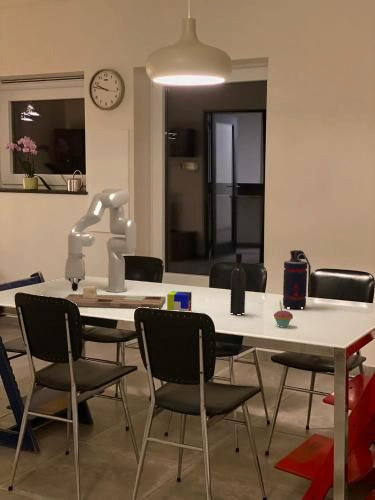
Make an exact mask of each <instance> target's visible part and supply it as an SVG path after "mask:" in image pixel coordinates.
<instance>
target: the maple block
mask: <svg viewBox="0 0 375 500" xmlns="http://www.w3.org/2000/svg"><path fill="white" fill-rule="evenodd" d="M97 289H98V286H95V285H94V286H93V285H91V286H90V285H89V286H88V285H87V286H84V287H83V288H82V293H83V297H93V298H94V297H96V296H97V295H98V290H97Z"/></svg>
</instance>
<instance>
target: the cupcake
mask: <svg viewBox="0 0 375 500" xmlns="http://www.w3.org/2000/svg"><path fill="white" fill-rule="evenodd" d="M282 306H283V305H282V301H281V300H279V309H280V310H278V311H276V312H275V313H274V314H273V317H274V319H275V322H276V324H277V326H278V325H279V326H288V327H289V324H290V322H291V320H293V318H294V316H293V315H294V314H292V312H290V311H288V310H283V307H282ZM279 326H278V327H279Z"/></svg>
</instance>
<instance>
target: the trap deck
mask: <svg viewBox="0 0 375 500" xmlns="http://www.w3.org/2000/svg"><path fill="white" fill-rule="evenodd" d="M166 297H167V296H161V295H160V296H157V295H156V296H154V295H115V294H114V295H113V294H97V296H96V297H94V298H93V297H83V294H82V293H80V294H79V293H70V294H68V295H67V296H65V297H64V298H65V299H69V300H70V301H72V302H74V303H76V304H77V306H78V307H77V308H94V309H95V308H97V309H98V308H99V309H101V308H103V309H128V310H129V309H133V310H134V309H135V310H137V309H136V308H138V307H149V308H159V309H158V310H162V309H163V307H164V305H165V303H166V302H167V301H166V299H167V298H166Z"/></svg>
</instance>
